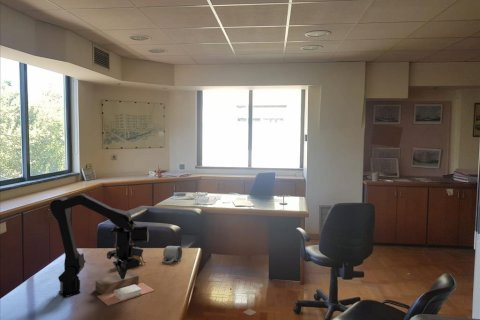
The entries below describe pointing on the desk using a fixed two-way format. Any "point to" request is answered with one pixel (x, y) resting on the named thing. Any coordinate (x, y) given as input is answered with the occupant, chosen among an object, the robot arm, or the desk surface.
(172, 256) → the ceramic mug
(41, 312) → the desk surface
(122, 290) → the white flat block
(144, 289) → the mat
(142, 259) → the lion figurine
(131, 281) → the brown long block
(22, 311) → the desk surface
